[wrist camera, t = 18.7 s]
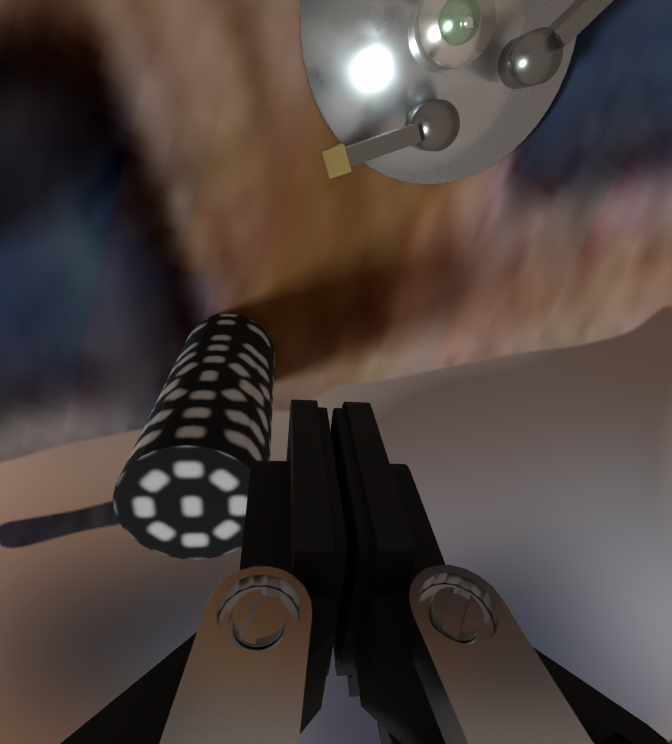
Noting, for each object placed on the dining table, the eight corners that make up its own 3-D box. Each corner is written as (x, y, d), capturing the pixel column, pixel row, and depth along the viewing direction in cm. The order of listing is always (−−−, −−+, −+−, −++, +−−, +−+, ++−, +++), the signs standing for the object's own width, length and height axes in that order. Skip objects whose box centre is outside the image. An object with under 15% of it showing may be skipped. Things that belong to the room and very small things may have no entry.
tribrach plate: (242, -28, 31) (234, -59, 26) (513, -247, 27) (561, -328, 23) (384, 230, 39) (398, 243, 35) (604, 88, 36) (652, 80, 31)
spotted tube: (274, 394, 46) (267, 557, 28) (188, 393, 45) (124, 561, 27) (275, 315, 42) (268, 445, 24) (181, 312, 41) (101, 445, 23)
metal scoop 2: (512, 99, 34) (535, 95, 31) (489, 61, 33) (510, 53, 30) (629, -12, 32) (666, -29, 29) (608, -58, 30) (645, -80, 27)
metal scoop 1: (442, 95, 34) (458, 91, 30) (450, 142, 35) (466, 142, 32) (315, 140, 34) (318, 140, 31) (328, 184, 36) (332, 189, 32)
